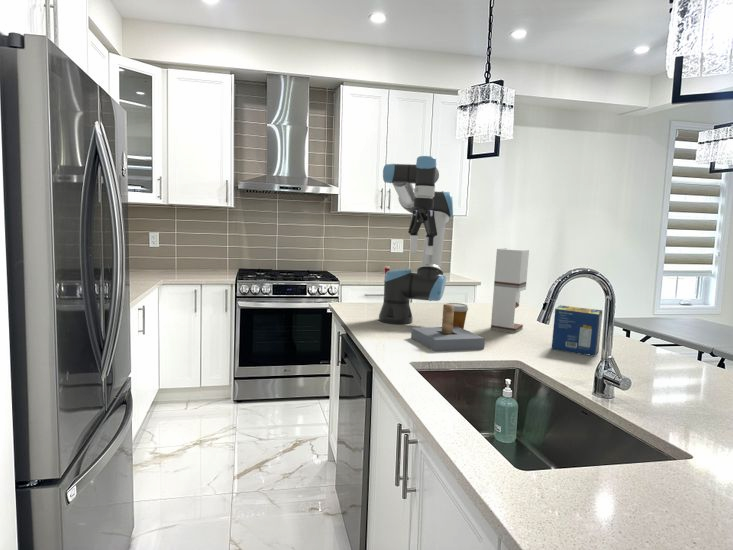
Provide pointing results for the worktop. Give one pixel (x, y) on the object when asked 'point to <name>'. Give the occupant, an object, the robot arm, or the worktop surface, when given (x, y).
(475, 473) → the worktop surface
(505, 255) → the white banded pillar
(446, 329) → the oak peg
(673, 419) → the worktop surface
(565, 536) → the worktop surface
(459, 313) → the disposable coffee cup
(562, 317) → the protein box
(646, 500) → the worktop surface
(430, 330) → the socket block
